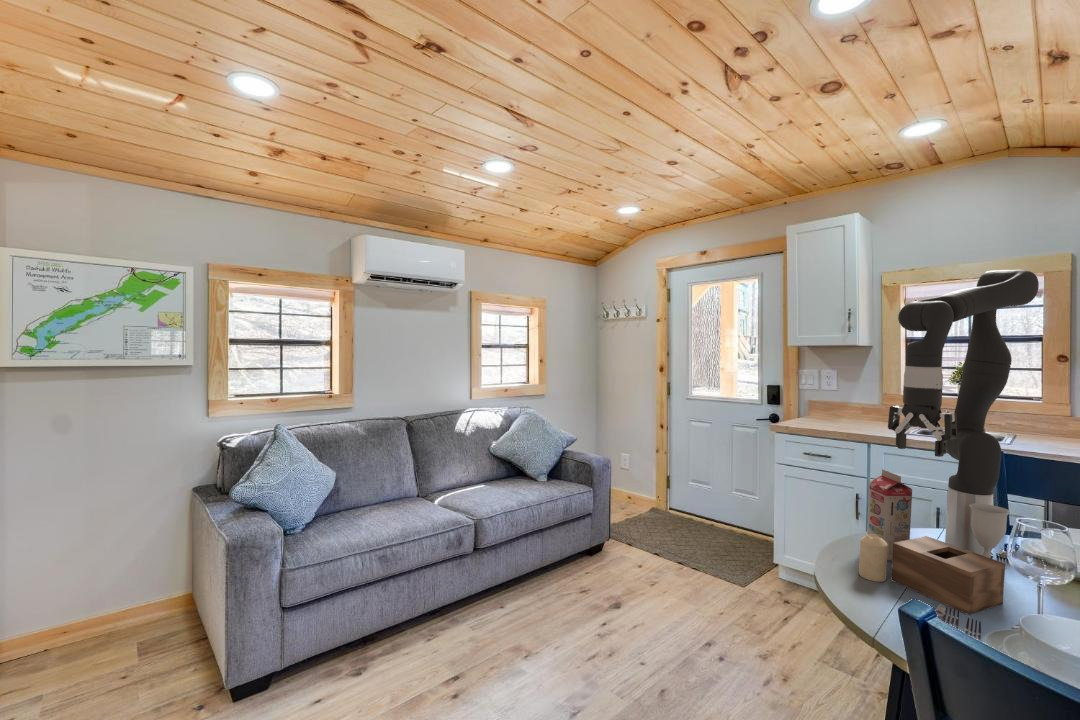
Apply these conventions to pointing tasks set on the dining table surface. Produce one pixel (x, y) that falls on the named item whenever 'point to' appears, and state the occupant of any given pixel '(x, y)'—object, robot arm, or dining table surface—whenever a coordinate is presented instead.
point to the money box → (949, 574)
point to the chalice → (988, 525)
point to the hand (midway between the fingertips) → (919, 452)
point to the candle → (873, 558)
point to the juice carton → (889, 509)
